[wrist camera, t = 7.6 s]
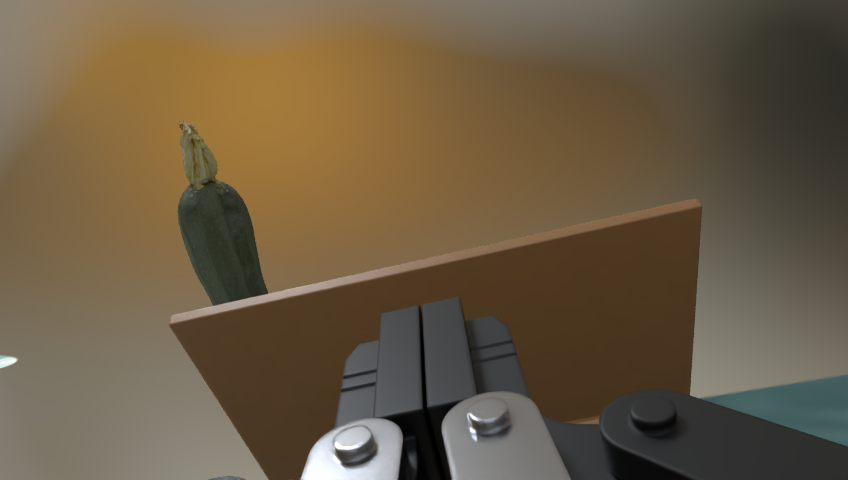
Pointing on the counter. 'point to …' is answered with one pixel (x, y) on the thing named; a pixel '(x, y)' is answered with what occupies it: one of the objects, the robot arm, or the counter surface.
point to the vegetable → (216, 228)
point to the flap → (480, 296)
